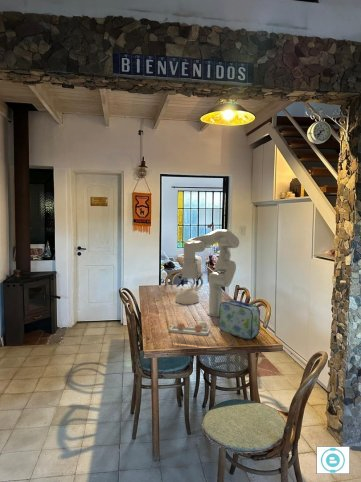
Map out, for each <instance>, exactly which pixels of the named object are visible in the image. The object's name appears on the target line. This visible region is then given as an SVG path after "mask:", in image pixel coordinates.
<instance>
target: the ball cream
mask: <svg viewBox="0 0 361 482" xmlns="http://www.w3.org/2000/svg"><path fill="white" fill-rule="evenodd" d="M199 324H200V325H201V326H202V328H205V329H207V327H208V324H207V322H206V321H205V320H204V321H203V320H202V321H200V322H199Z"/></svg>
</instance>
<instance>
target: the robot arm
mask: <svg viewBox="0 0 361 482" xmlns="http://www.w3.org/2000/svg"><path fill="white" fill-rule="evenodd" d="M215 244H218V248H219V254H218V257H217V260H216V262H215V266H214V269H215V270H216V271H213V272H211V273H209V275H208V278H207V279H208V285H209V287H208V288H209V292H208V293H209V299H208V301H209V303H208V307H209V308H208V311H207V312H206V315H207V316H210V317H214V318H215V317H217V318H219V308H220V304H221V303H222V302H223V288H222V287H224V288H228V287H229V286H231V284H232V282H233V279H234V276H235V274H236V270H237V264H236V262H235V261H233V260H232V259H231V257H232V256H231V255H232V254H231V251H230V249H237V248H238V247H239V245H240V240H239V238H238V236H236V235H235V234H234V233H233V232H232V231H230V230H229V229H215V230H213V231H210V232H208V233H207V234H203V235H200V236H195V237H193V238H190V239H188V240H186V242H185V241H184V243H183V262H182V268H181V271H179V272H177V273H176V275H177V277H178V279H180V283H181V285H180V286H181V287H184V285H185V283H184V281H185V280H184V278H185V279H186V278H187V279H188V278H189V279H190V278H191V279H195V286H196V287H198V286H199V285H200V284H199V280H201V278H202V277H203V273H202V272H200V271H198V264H197V261H198V259H197V258H196V253H202V252H204V251H205V249H206V247H211V246H213V245H215ZM230 259H231V260H230ZM198 275H199V276H198Z"/></svg>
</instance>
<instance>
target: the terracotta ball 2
mask: <svg viewBox="0 0 361 482" xmlns="http://www.w3.org/2000/svg"><path fill="white" fill-rule="evenodd" d="M194 329H195V331H196V332H201V331H202V326H201V325H200V323H197V324H195V326H194Z"/></svg>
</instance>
